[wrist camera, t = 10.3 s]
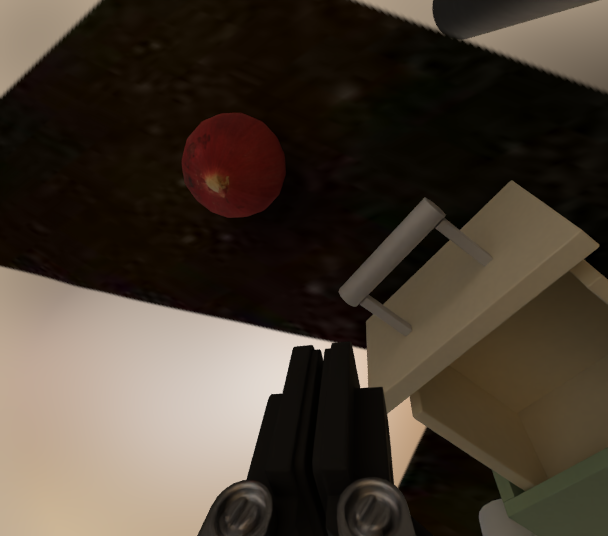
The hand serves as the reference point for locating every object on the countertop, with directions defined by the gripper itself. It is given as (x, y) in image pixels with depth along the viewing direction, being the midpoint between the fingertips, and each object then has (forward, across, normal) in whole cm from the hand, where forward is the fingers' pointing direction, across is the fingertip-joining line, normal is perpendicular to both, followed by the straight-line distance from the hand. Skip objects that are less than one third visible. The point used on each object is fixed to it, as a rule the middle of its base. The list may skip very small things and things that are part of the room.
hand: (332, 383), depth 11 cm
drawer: (+16, -8, +8) cm, 20 cm away
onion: (+17, +6, -4) cm, 19 cm away
